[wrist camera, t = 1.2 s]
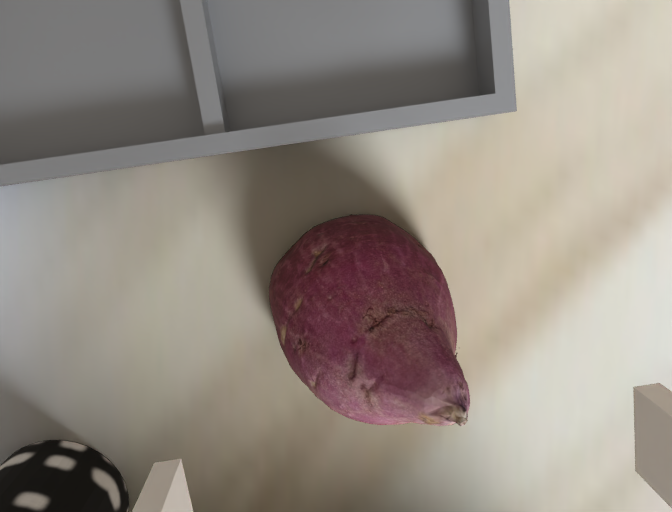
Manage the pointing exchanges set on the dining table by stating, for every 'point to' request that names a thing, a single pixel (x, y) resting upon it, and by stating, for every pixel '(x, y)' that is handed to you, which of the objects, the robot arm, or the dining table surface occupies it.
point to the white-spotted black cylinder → (61, 480)
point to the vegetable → (370, 323)
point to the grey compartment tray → (235, 76)
